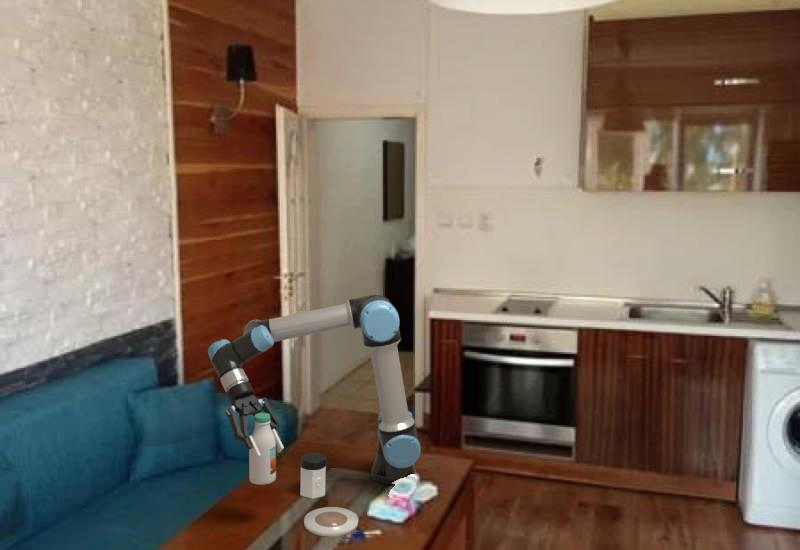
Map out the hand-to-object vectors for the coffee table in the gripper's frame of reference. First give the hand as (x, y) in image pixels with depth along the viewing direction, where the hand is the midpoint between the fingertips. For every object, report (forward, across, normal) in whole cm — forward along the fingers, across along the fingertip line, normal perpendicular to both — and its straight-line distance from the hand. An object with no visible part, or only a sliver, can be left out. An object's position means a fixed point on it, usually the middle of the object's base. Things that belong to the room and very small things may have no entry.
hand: (269, 453), depth 221 cm
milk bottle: (+4, 0, -9) cm, 10 cm away
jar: (+10, -23, -22) cm, 33 cm away
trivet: (+24, -14, -8) cm, 28 cm away
